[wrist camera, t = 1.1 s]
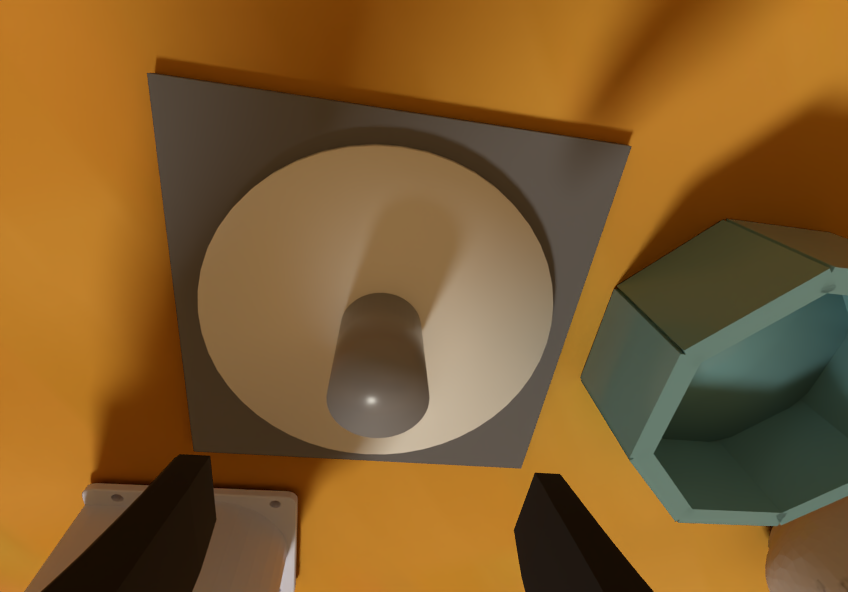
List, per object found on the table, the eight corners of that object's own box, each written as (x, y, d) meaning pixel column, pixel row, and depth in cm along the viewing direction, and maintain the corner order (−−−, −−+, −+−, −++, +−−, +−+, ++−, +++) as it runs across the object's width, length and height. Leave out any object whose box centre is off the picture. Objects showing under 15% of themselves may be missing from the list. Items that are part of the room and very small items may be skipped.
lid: (216, 435, 19) (168, 535, 15) (187, 115, 13) (97, 136, 9) (505, 451, 21) (533, 545, 17) (593, 172, 15) (669, 212, 11)
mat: (197, 444, 20) (193, 451, 19) (153, 72, 13) (147, 73, 13) (519, 461, 22) (521, 468, 21) (625, 144, 15) (631, 146, 15)
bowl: (559, 433, 21) (599, 519, 17) (644, 207, 16) (729, 254, 12) (766, 446, 22) (847, 528, 18) (903, 242, 17) (1056, 294, 13)
